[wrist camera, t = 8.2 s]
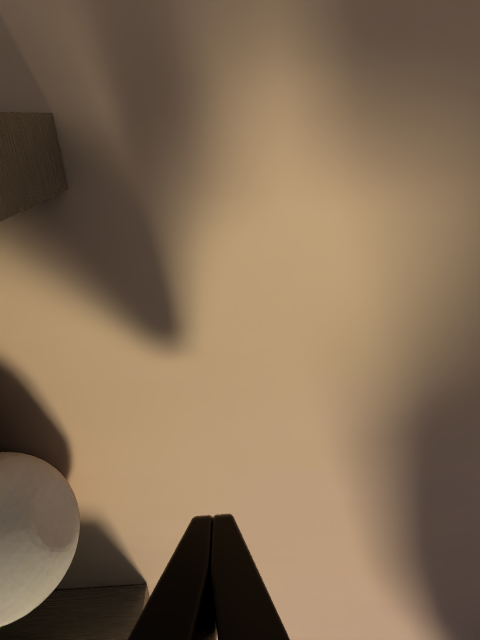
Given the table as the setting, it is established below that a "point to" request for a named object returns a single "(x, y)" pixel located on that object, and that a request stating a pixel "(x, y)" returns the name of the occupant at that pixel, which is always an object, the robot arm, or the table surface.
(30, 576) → the multicolored petal rattle
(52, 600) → the tray
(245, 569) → the robot arm
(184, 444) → the table surface
